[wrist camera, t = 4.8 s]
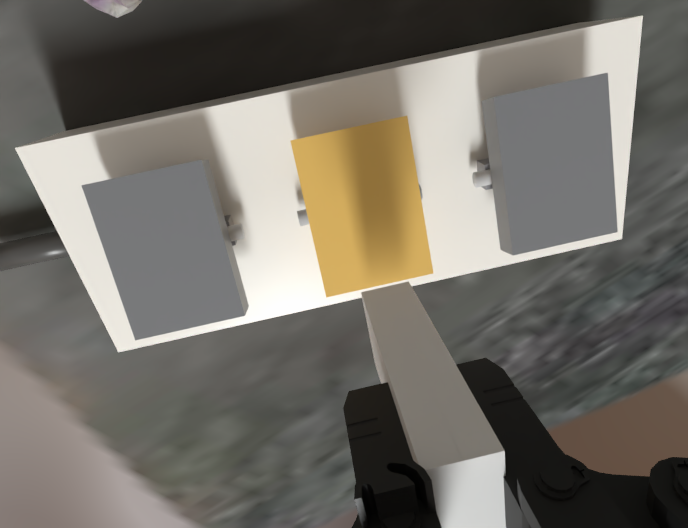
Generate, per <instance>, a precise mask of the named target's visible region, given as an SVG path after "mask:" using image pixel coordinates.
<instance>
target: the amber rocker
mask: <svg viewBox="0 0 688 528" xmlns="http://www.w3.org/2000/svg"><path fill="white" fill-rule="evenodd" d="M290 142H291V146H292V150H293V155H294V159H295V163H296V168H297V172H298V176H299V181H300V185H301V189H302V194H303V198H304V202H305V207H306V211H307V216H308V220H309V224H310V229H311V233H312V237H313V242H314V246H315V250H316V255H317V259H318V263H319V268H320V272H321V276H322V281H323V285H324V289H325V294H326V298H327V297H331V296H335V295H340V294H344V293H349V292H353V291H358V290H362V289H367V288H371V287H375V286H380V285H384V284H389V283H393V282H398V281H402V280H407V279H411V278H416V277H420V276H424V275H429V274H433V267H432V261H431V255H430V249H429V243H428V237H427V231H426V225H425V219H424V213H423V207H422V201H421V195H420V189H419V183H418V177H417V171H416V165H415V159H414V153H413V147H412V141H411V135H410V129H409V123H408V117H407V116H402V117H398V118H393V119H389V120H384V121H379V122H375V123H370V124H365V125H361V126H356V127H351V128H347V129H342V130H337V131H333V132H328V133H323V134H319V135H314V136H309V137H305V138H300V139H295V140H291V141H290Z"/></svg>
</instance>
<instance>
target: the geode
mask: <svg viewBox="0 0 688 528" xmlns="http://www.w3.org/2000/svg"><path fill="white" fill-rule="evenodd" d="M84 1H85V2H87V3H88V4H90V5H91V6H93V7H94V8H95V9H98V10H100V11H102V12H105V13H107V14H109V15H112V16H114V17H117V18H118V17H120V16H122V15H125V14H127V13H129V12H132V11H133V10H134V9H135V8H136V7H137V6H138V5H139V4H140V3H141V2H142V1H143V0H84Z"/></svg>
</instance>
